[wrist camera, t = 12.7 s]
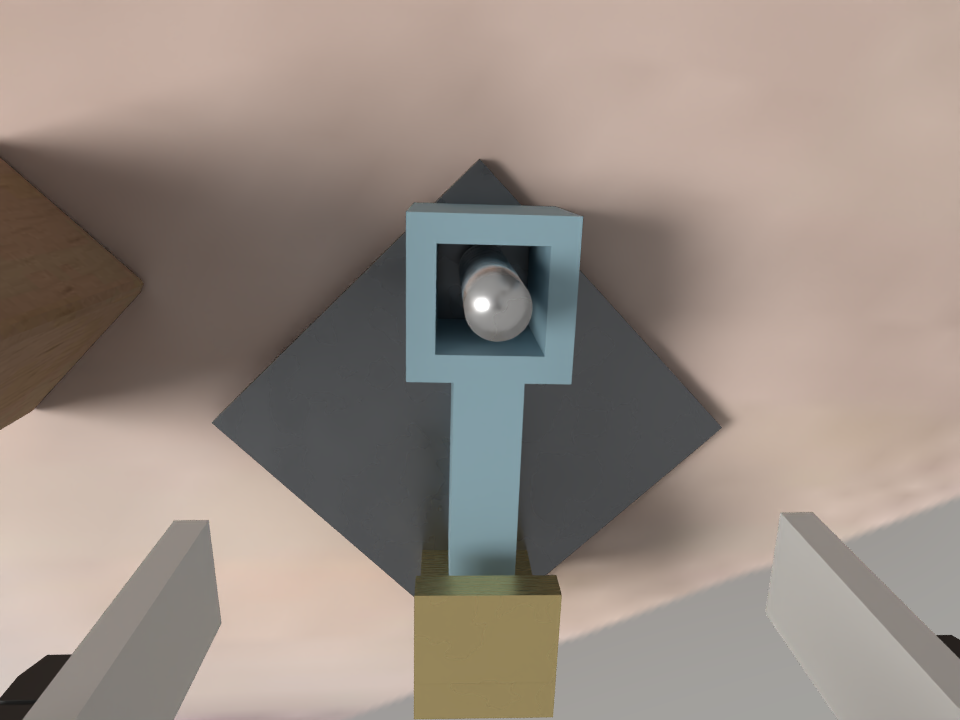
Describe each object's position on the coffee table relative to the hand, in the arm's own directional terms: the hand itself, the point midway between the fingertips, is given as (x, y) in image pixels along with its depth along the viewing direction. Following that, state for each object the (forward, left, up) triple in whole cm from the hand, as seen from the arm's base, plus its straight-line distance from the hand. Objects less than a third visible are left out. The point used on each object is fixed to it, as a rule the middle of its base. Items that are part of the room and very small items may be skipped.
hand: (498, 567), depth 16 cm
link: (+1, +2, -20) cm, 21 cm away
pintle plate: (+3, +3, -22) cm, 22 cm away
